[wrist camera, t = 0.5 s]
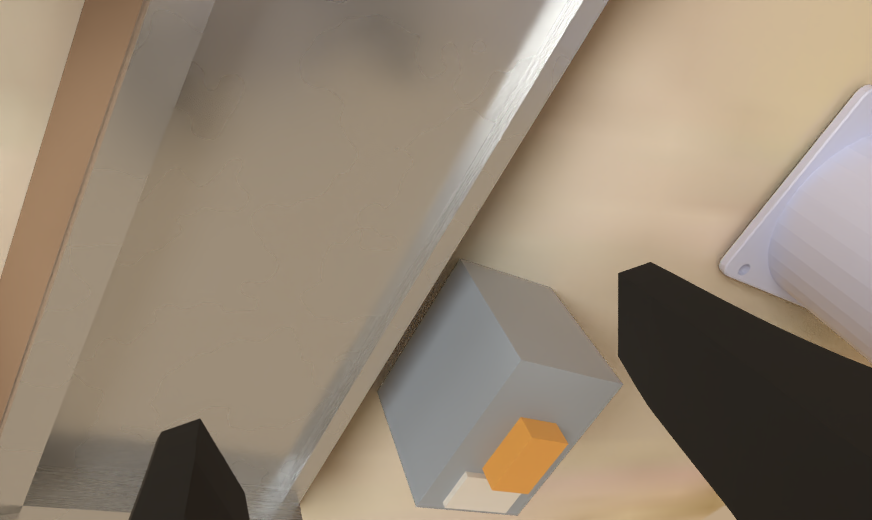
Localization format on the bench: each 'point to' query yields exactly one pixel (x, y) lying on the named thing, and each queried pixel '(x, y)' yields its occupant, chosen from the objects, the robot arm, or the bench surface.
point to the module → (491, 392)
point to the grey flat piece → (264, 232)
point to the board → (60, 172)
